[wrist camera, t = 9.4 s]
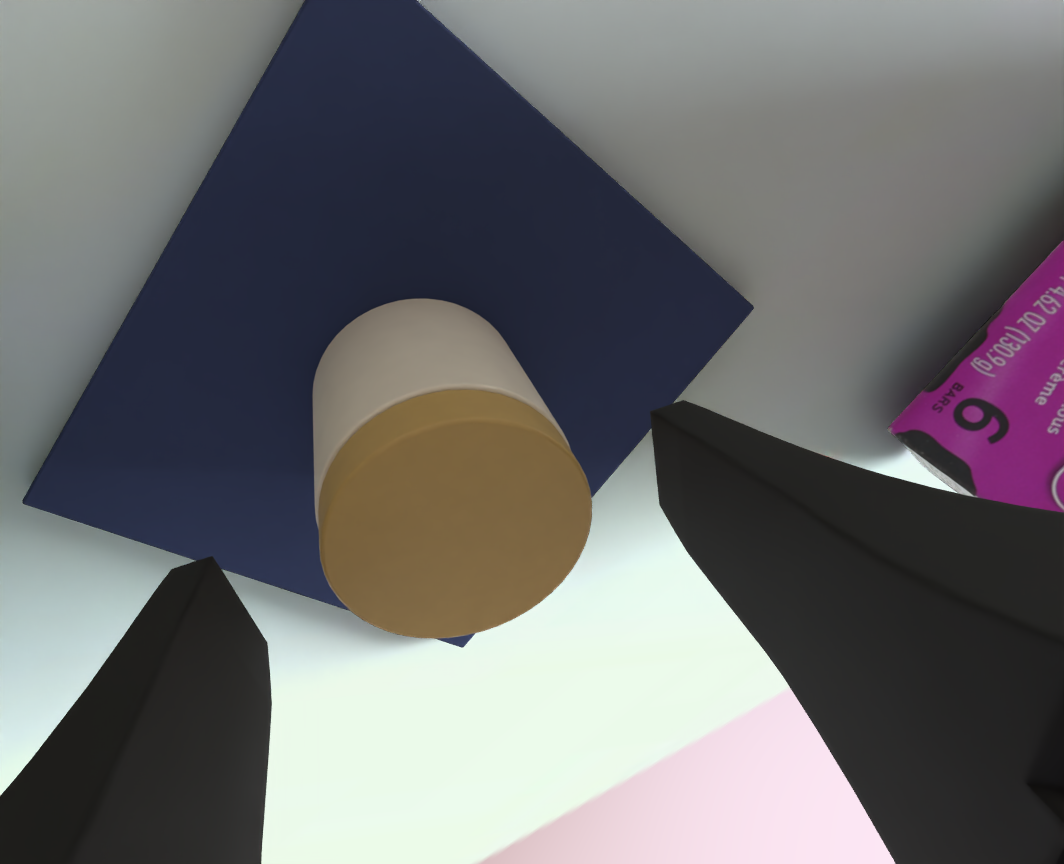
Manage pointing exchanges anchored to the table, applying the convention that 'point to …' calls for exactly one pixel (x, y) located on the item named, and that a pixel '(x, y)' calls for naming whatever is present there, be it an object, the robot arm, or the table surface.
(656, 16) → the table surface
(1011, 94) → the table surface
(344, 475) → the cream jar
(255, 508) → the napkin
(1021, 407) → the candy bar box
